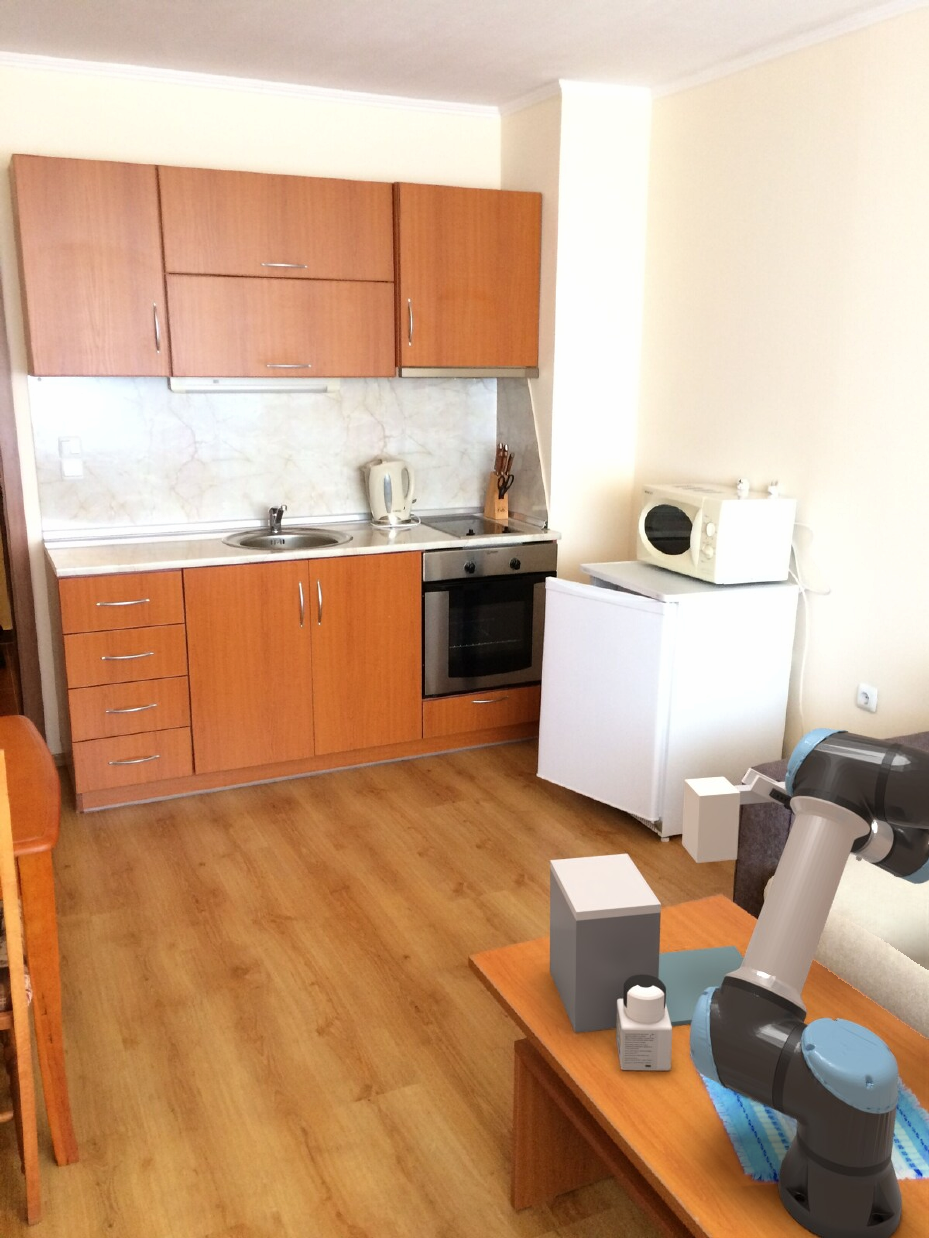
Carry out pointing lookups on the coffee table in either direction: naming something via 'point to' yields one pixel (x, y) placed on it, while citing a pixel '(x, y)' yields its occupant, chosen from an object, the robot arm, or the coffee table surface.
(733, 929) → the coffee table surface
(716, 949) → the mat
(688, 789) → the tall white block
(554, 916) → the stand
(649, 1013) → the container
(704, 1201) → the coffee table surface
